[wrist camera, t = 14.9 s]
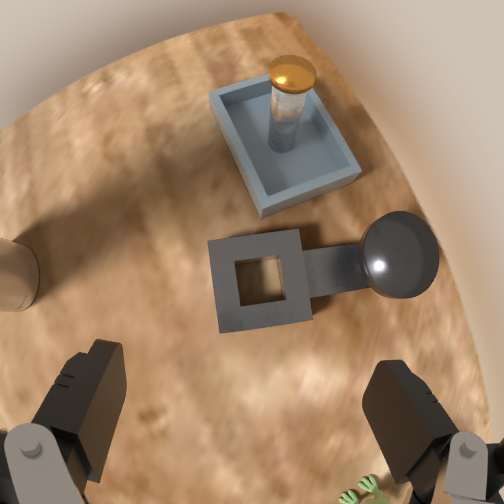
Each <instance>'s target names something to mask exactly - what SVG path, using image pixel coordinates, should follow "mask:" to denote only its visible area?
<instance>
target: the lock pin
mask: <svg viewBox="0 0 504 504" xmlns="http://www.w3.org/2000/svg"><path fill="white" fill-rule="evenodd" d="M315 78H316V69H315V67H314V66H313V65H312V63H310V62H309V61H308V60H306V59H304V58H302V57H299V56H295V55H284V56H280V57H278V58H276V59H274V60H273V61H272V62H271V64H270V67H269V80H270V83H271V84H272V96H271V107H270V118H269V129H268V140H267V142H268V145H269V147H270V148H271V149H272V150H273V151H275V152H278V153H286V152H288V151H290V150H291V149H292V148H293V146H294V142H295V138H296V134H297V131H298V127H299V123H300V119H301V115H302V111H303V107H304V103H305V99H306V95H307V91H309V90H310V89H311V88H312V87H313V85H314V82H315Z"/></svg>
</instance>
